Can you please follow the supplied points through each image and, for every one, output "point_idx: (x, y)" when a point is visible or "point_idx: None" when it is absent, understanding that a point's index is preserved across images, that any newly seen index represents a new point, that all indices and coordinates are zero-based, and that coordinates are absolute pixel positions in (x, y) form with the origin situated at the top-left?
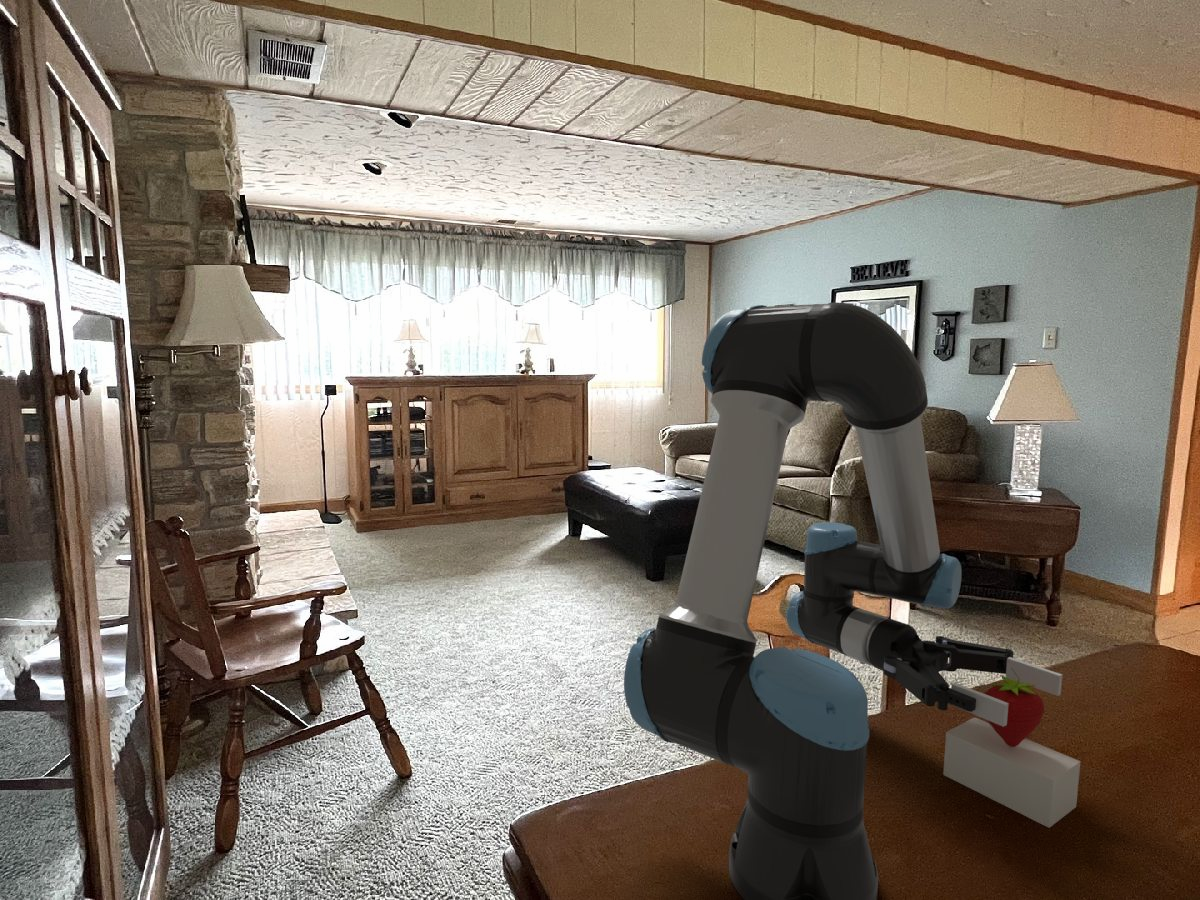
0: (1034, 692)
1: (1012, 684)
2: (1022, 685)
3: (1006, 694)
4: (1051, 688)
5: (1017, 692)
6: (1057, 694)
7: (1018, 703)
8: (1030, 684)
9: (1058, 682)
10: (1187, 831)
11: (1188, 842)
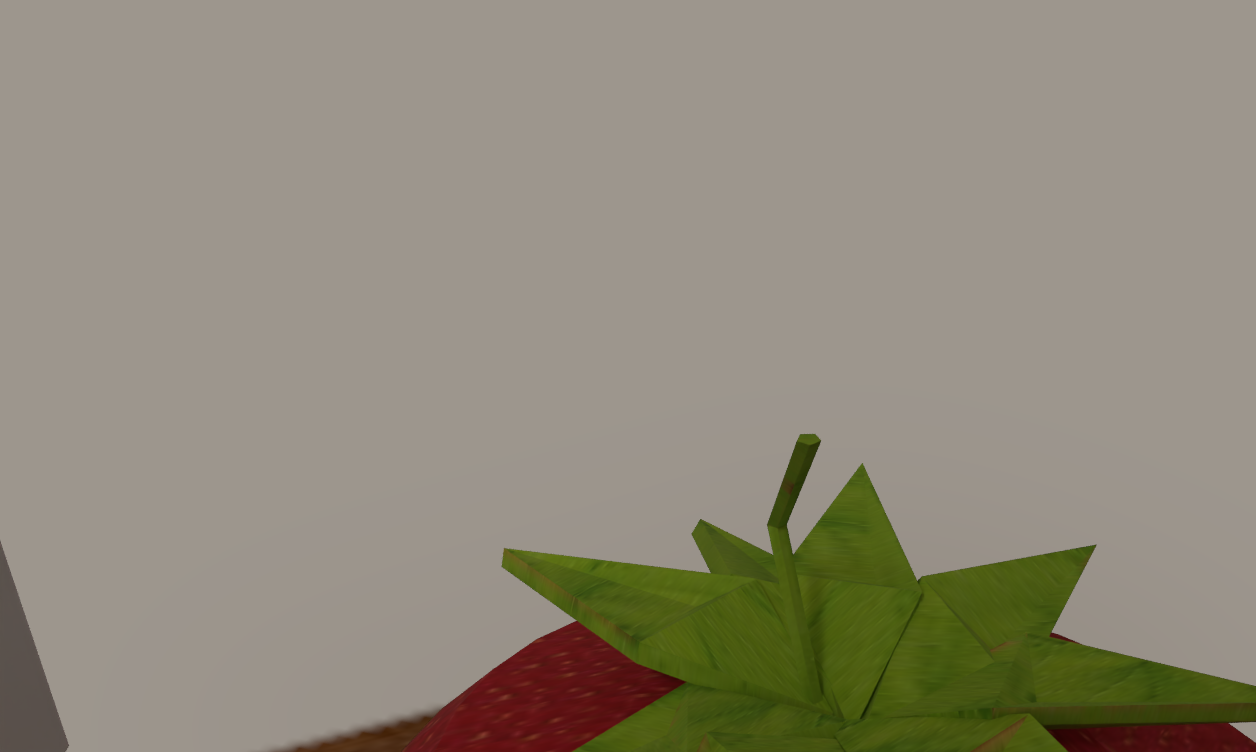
0: (709, 535)
1: (785, 743)
2: (744, 593)
3: (1126, 743)
4: (10, 743)
5: (1037, 557)
6: (60, 733)
7: (1073, 642)
8: (560, 581)
9: (6, 579)
10: (319, 746)
11: (420, 718)
